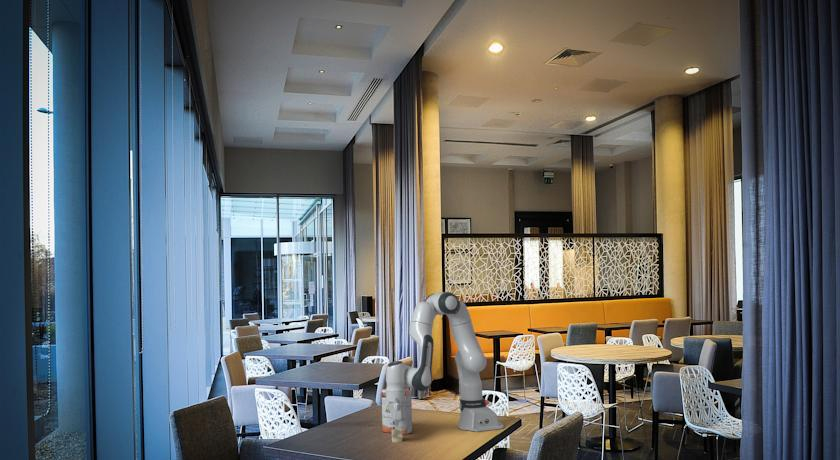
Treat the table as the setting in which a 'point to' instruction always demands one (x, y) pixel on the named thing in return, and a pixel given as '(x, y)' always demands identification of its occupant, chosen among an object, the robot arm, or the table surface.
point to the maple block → (396, 435)
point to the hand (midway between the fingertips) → (395, 426)
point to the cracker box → (406, 414)
